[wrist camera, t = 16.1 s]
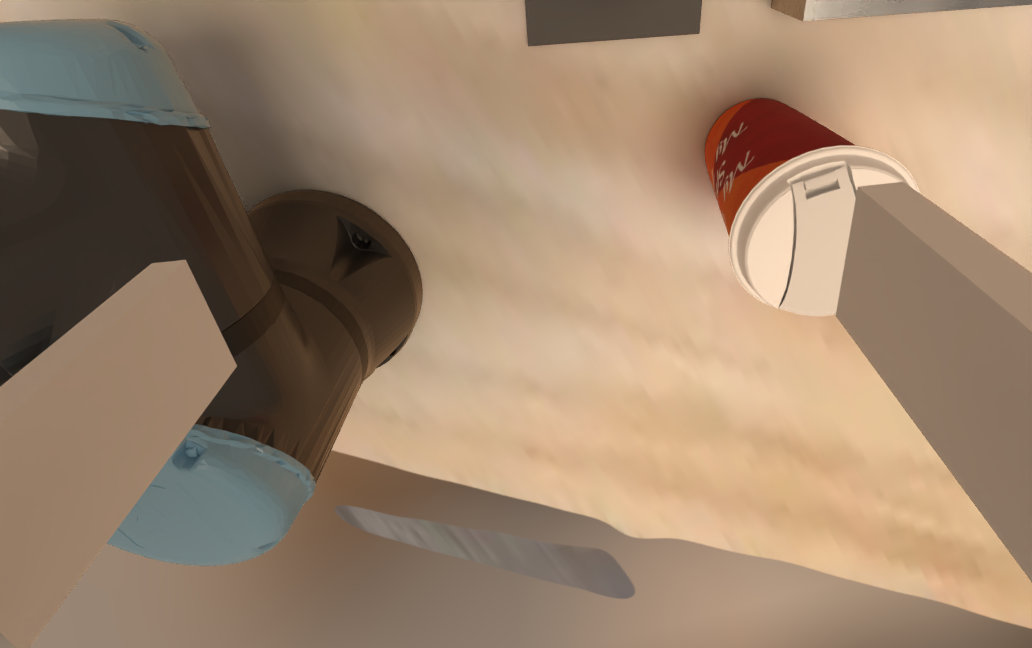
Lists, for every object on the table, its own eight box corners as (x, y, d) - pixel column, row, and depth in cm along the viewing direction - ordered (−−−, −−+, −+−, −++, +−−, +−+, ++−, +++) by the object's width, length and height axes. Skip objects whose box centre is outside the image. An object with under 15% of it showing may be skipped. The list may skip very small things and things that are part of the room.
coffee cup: (671, 109, 38) (715, 198, 25) (808, 55, 36) (931, 124, 23) (704, 224, 42) (756, 349, 29) (829, 182, 40) (943, 299, 27)
